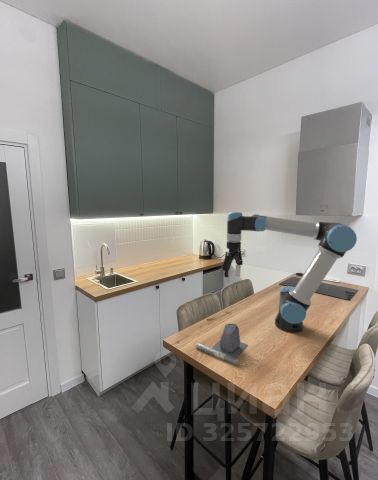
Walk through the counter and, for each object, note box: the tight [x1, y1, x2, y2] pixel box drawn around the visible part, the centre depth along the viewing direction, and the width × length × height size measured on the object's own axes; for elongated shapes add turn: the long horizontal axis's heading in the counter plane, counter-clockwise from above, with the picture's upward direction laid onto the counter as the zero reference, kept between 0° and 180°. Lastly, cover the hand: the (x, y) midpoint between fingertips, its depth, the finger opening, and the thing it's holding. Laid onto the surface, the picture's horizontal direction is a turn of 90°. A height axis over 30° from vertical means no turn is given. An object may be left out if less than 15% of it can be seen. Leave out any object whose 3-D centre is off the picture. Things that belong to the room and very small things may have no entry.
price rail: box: [195, 342, 240, 367], centre depth 116 cm, size 22×2×2 cm, turn 54°
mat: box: [210, 340, 248, 359], centre depth 122 cm, size 13×15×1 cm
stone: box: [219, 323, 241, 353], centre depth 121 cm, size 12×10×10 cm
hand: (232, 279), depth 136 cm, fingers open, 13 cm apart
